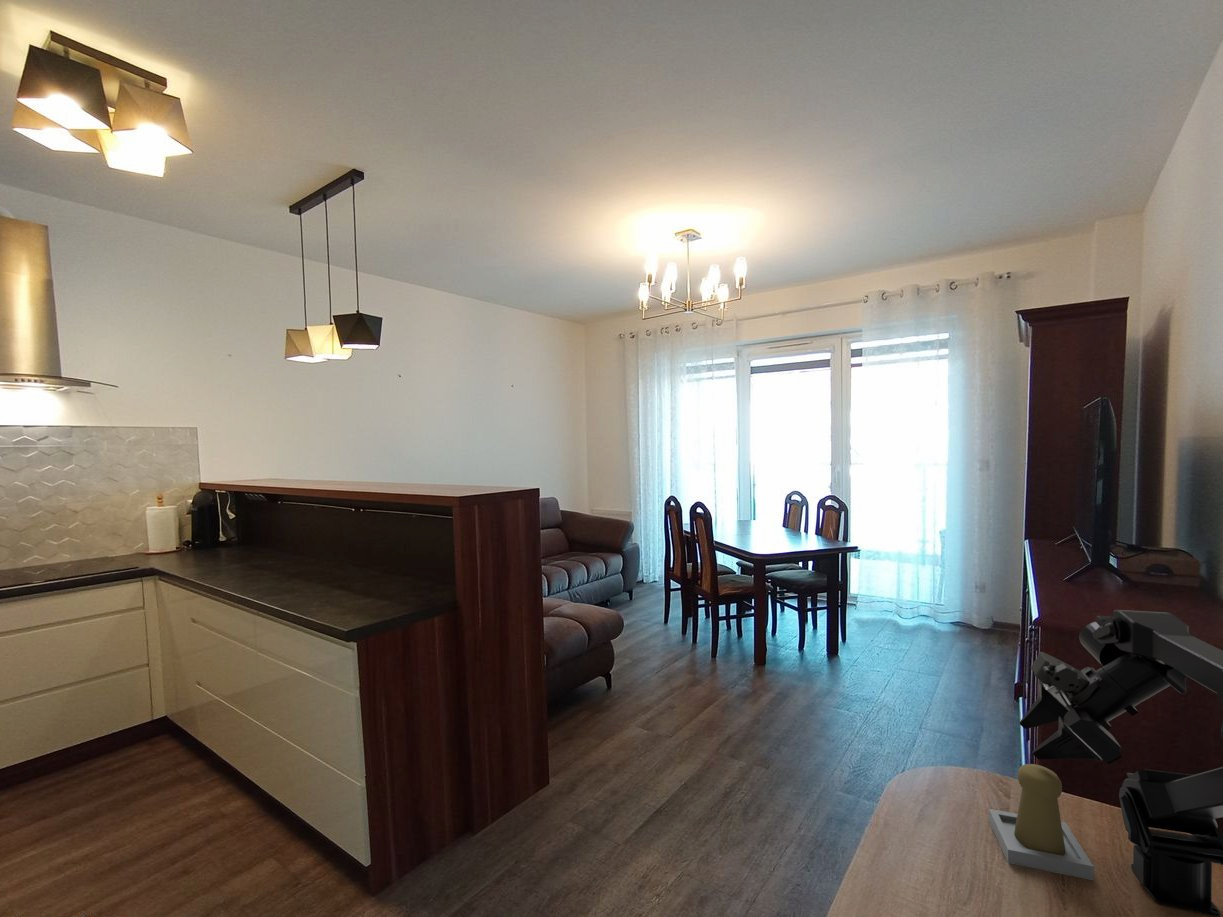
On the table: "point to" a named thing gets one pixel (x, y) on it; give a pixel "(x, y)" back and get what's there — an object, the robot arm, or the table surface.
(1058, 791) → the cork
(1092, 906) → the table surface
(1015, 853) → the gray tray
